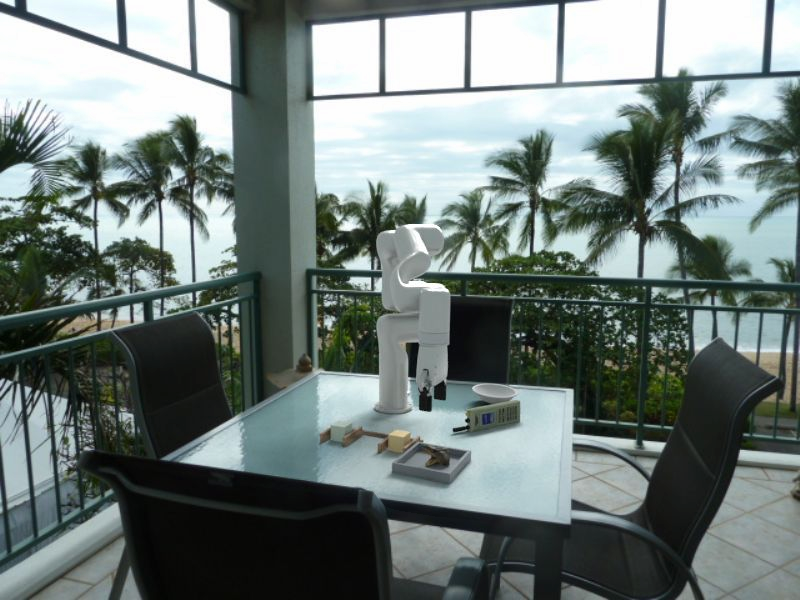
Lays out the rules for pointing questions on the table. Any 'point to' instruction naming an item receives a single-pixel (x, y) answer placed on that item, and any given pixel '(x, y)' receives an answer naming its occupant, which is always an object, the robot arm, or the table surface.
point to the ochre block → (398, 440)
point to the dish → (494, 393)
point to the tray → (415, 465)
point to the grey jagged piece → (437, 455)
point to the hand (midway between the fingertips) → (432, 405)
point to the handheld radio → (491, 416)
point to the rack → (359, 432)
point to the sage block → (340, 430)
